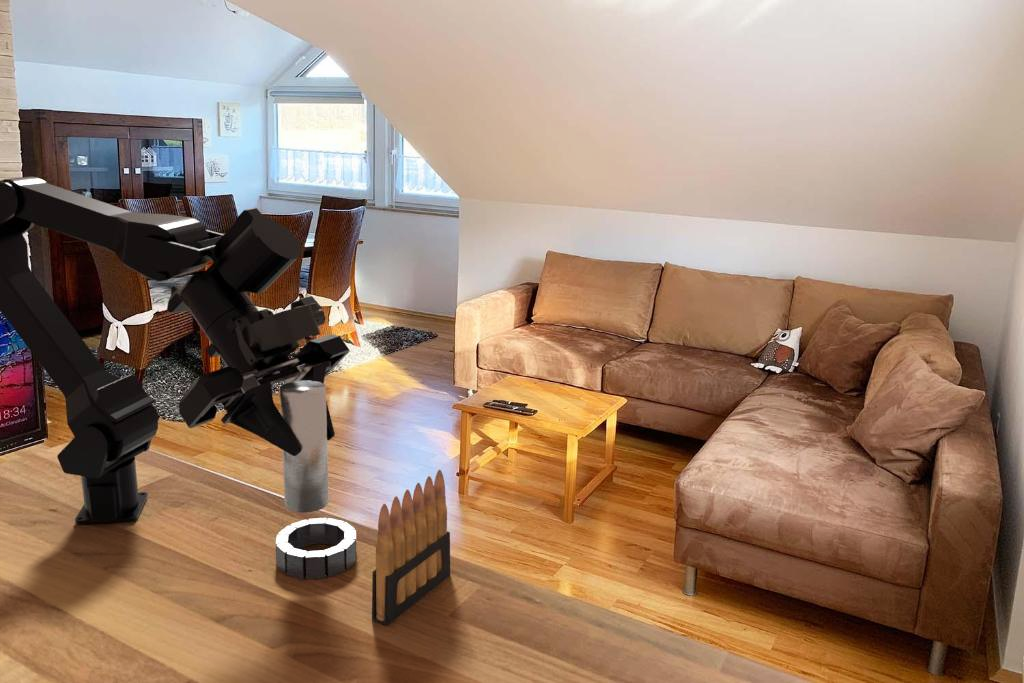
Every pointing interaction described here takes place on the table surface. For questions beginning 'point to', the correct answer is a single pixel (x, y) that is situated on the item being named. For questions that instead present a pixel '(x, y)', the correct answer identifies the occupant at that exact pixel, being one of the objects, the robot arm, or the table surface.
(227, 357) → the robot arm
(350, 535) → the ring
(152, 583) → the table surface
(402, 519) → the ammunition clip
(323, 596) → the table surface
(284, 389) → the silver tall cylinder
